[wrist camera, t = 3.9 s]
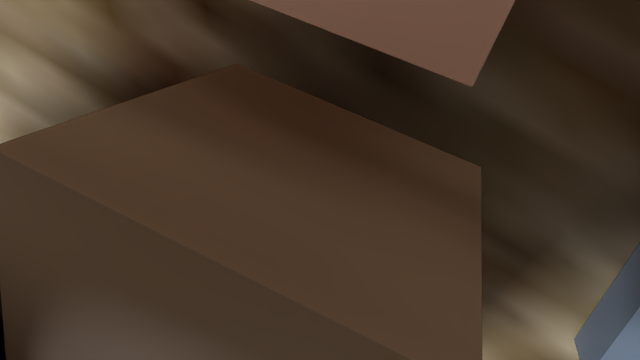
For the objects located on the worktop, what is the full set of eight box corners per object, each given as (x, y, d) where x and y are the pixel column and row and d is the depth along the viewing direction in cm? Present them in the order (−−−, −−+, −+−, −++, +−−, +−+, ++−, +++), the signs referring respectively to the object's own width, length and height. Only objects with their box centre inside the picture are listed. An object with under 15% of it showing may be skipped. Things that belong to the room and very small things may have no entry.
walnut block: (339, 417, 12) (256, 673, 7) (179, 332, 12) (18, 519, 8) (481, 167, 8) (483, 395, 4) (237, 63, 9) (-11, 147, 4)
